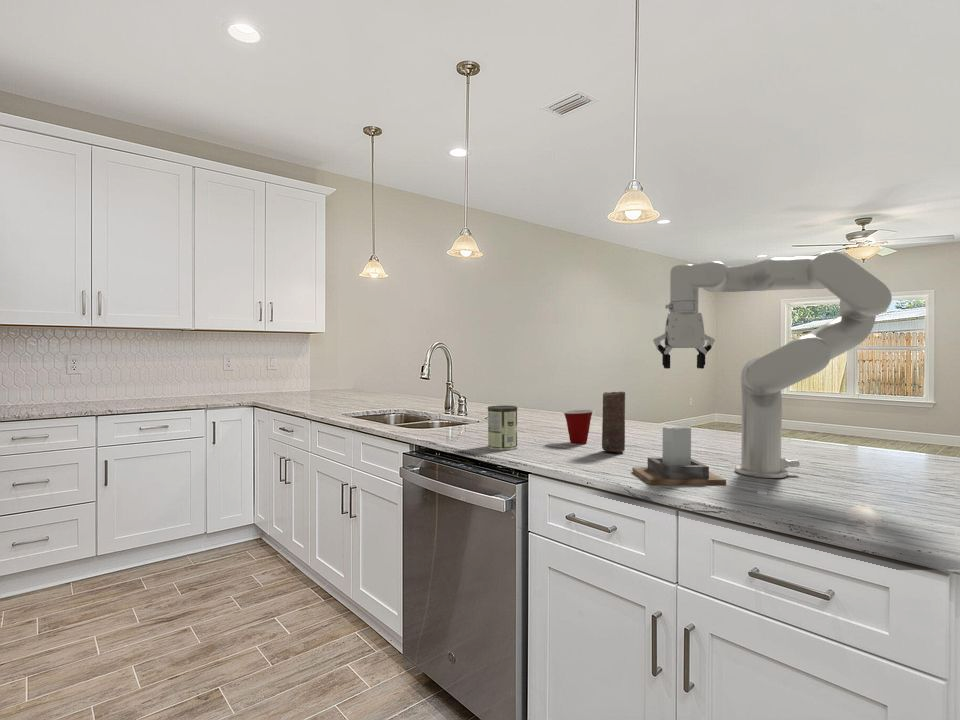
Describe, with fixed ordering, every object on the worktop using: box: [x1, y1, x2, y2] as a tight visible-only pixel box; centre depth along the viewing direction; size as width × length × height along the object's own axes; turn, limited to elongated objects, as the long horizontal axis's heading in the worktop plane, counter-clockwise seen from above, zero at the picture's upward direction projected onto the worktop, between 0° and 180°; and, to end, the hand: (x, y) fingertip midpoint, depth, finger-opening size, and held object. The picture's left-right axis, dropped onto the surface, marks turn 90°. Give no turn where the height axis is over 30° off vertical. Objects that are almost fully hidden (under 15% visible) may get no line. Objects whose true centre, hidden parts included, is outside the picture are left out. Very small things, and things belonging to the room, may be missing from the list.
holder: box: [632, 457, 727, 486], centre depth 135 cm, size 19×14×4 cm
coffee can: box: [487, 405, 519, 451], centre depth 178 cm, size 10×10×14 cm
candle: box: [601, 391, 626, 453], centre depth 169 cm, size 8×7×20 cm
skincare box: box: [661, 425, 692, 466], centre depth 135 cm, size 6×4×12 cm
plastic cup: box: [562, 409, 594, 445], centre depth 187 cm, size 11×11×12 cm
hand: (683, 368), depth 147 cm, fingers open, 9 cm apart
